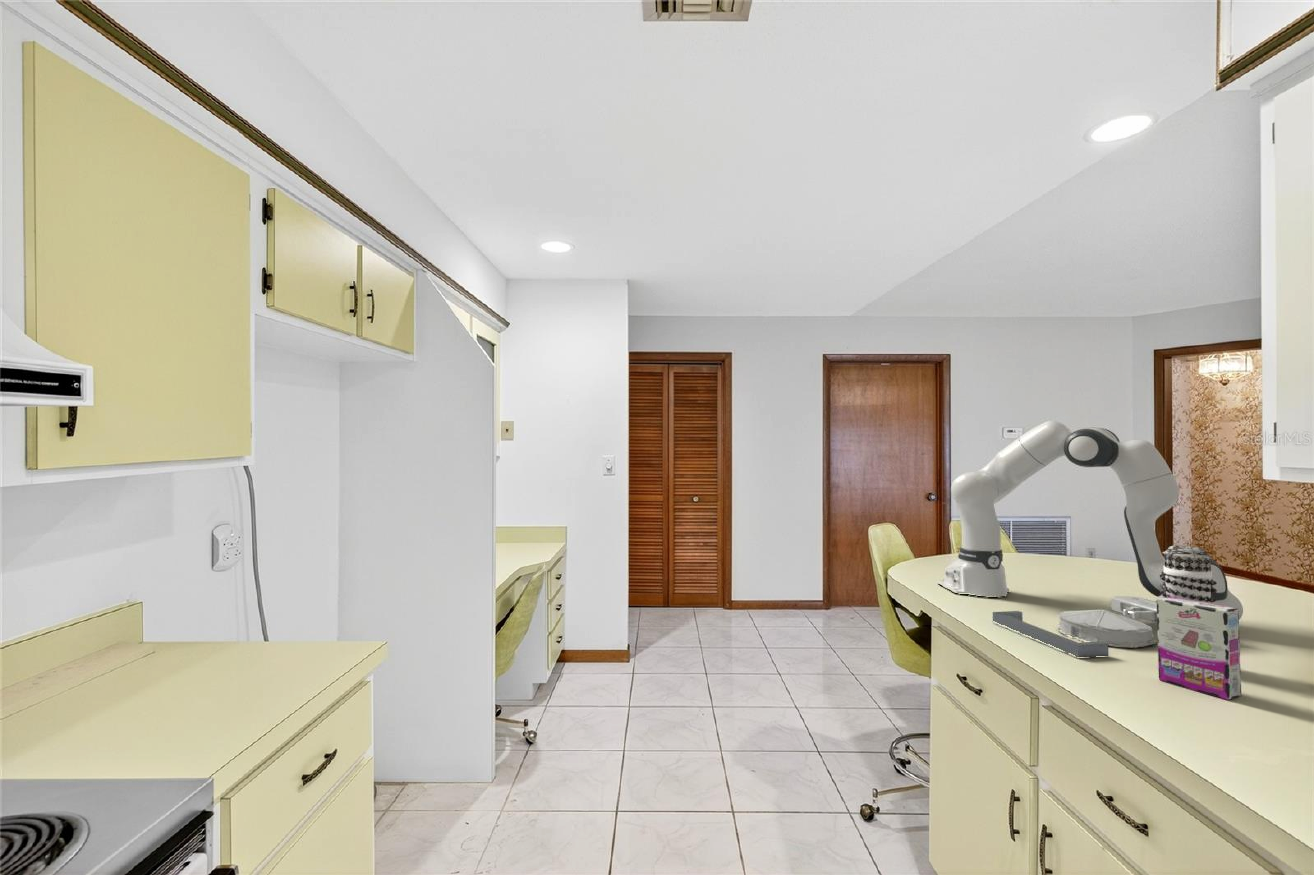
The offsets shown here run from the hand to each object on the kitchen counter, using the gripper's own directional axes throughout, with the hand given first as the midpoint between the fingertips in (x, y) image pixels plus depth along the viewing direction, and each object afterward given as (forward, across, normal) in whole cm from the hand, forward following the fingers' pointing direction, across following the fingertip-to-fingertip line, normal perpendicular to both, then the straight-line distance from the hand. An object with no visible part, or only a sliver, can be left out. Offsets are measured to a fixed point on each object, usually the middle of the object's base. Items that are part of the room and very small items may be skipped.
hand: (1128, 614), depth 148 cm
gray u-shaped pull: (+22, 0, +5) cm, 23 cm away
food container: (+7, 0, +5) cm, 9 cm away
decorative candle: (+7, +20, +5) cm, 22 cm away
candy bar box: (+18, +31, +5) cm, 36 cm away
